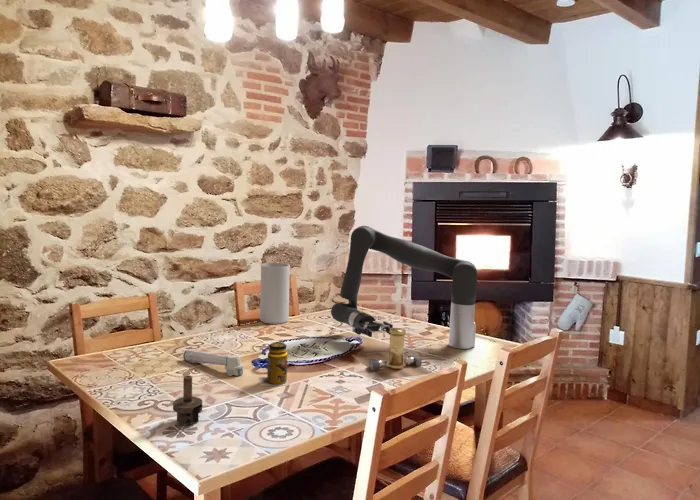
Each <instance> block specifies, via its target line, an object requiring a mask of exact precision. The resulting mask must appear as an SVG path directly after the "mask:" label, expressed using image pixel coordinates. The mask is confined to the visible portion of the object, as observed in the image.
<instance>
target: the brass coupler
mask: <svg viewBox="0 0 700 500" xmlns="http://www.w3.org/2000/svg"><path fill="white" fill-rule="evenodd" d="M406 332H407V331H406V329H404V328H401V327H393V328H390V331H389V333H390V334H389V348H388V351H389V362H388V368H389V369H392V370H401V369H403V368H404V364H403V356H404V350H405V349H404V348H405V335H406V334H407V333H406Z"/></svg>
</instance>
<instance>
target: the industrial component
mask: <svg viewBox="0 0 700 500" xmlns="http://www.w3.org/2000/svg"><path fill="white" fill-rule="evenodd" d="M182 385H183V396H182V397H178V398H176V399H175V400H174V401H173V402H172V411H174V412H176V422H177V424H179V425H183V426H189V425H193V424H194V423H198V424H199V418H200V415H199V414H201V412H202V411H203V399H202V398H200V397H197V396H193V376H192V375H190V374H189V375H184V376H183V384H182ZM199 428H200V427H199Z"/></svg>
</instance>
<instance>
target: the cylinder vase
mask: <svg viewBox="0 0 700 500" xmlns="http://www.w3.org/2000/svg"><path fill="white" fill-rule="evenodd" d="M290 272H291V265H290V263H284V262H265V263H262V264H261V265H260V293H259V295H260V297H259V298H260V300H259V301H260V302H259V303H260V304H259V306H260V309H259V310H260V311H259V320H260V321H261V322H262V323H265V324H271V325H278V324H279V325H281V324H285V323H287V322H289V319H290V317H289V316H290V315H289V314H290V313H289V312H290V277H291V276H290V275H291V273H290Z"/></svg>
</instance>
